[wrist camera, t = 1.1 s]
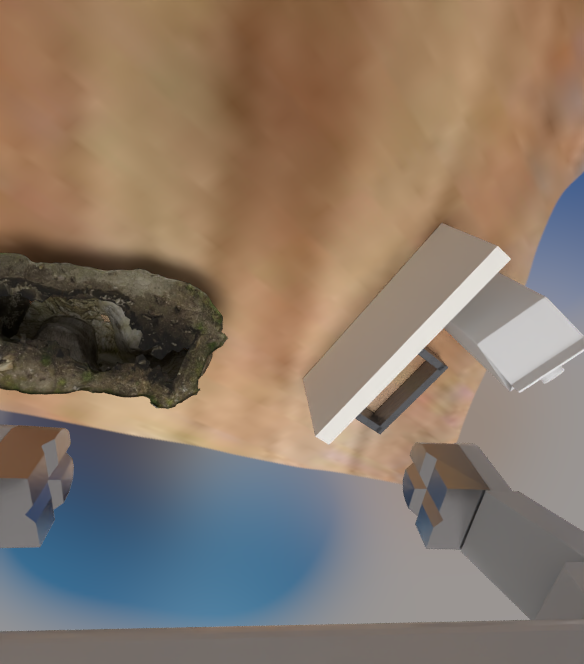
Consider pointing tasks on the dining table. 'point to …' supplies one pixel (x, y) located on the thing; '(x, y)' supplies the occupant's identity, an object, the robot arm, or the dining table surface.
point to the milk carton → (516, 334)
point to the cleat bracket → (405, 393)
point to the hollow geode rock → (103, 331)
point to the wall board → (398, 325)
